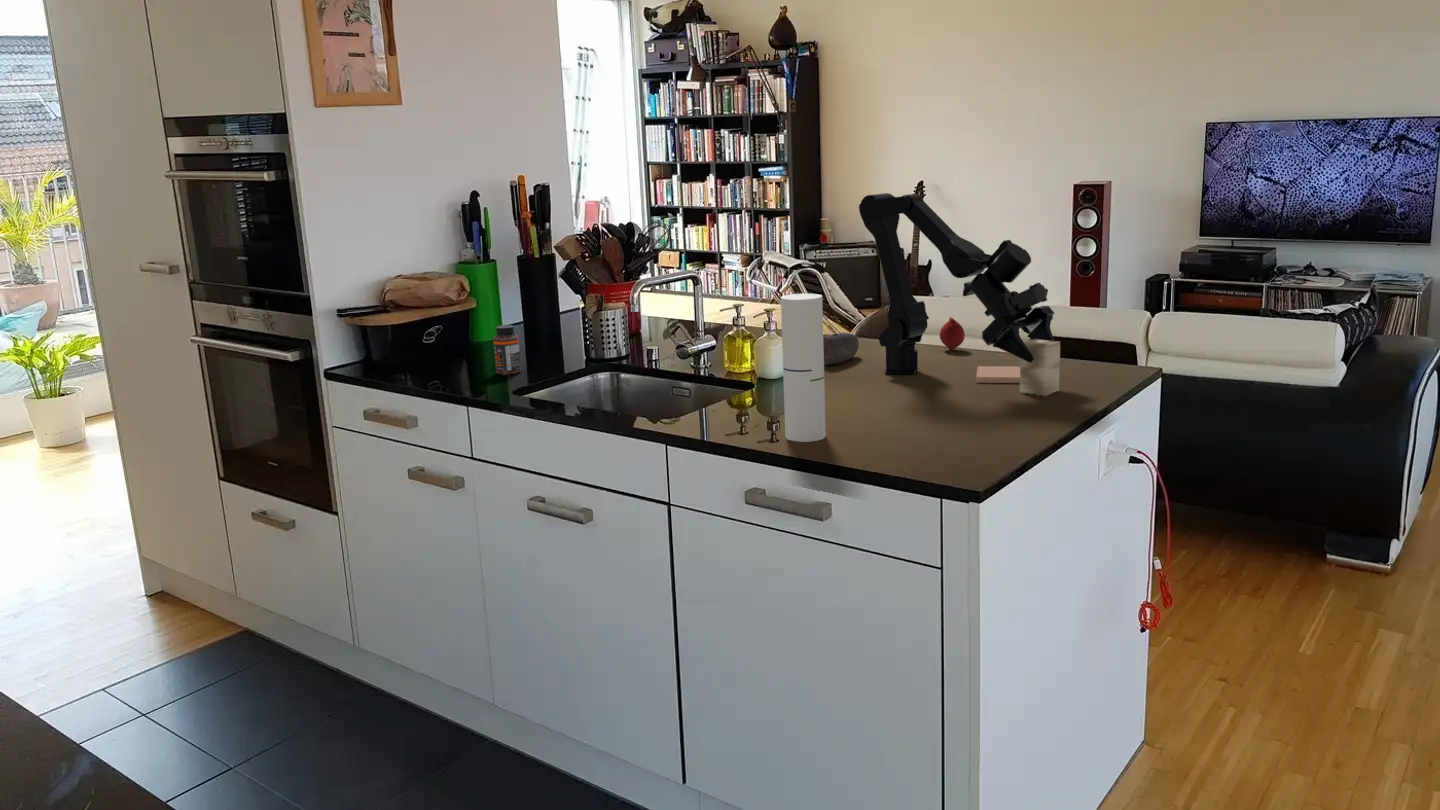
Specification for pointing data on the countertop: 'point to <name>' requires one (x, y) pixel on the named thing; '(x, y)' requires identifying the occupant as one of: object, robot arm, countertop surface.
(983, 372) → the terracotta tile
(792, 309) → the cylindrical container
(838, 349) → the perforated stone tool
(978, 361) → the countertop surface
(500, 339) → the supplement bottle
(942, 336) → the onion
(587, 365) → the countertop surface
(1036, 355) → the birch block
